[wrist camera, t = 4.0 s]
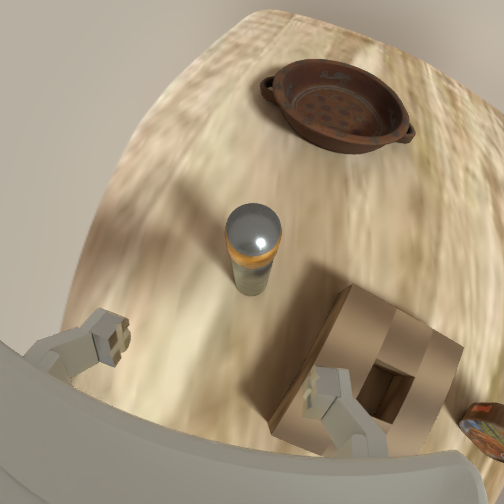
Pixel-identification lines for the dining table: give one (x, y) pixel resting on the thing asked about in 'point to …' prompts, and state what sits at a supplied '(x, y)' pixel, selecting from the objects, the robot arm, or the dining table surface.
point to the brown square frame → (359, 365)
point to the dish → (338, 106)
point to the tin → (485, 428)
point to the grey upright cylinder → (252, 245)
